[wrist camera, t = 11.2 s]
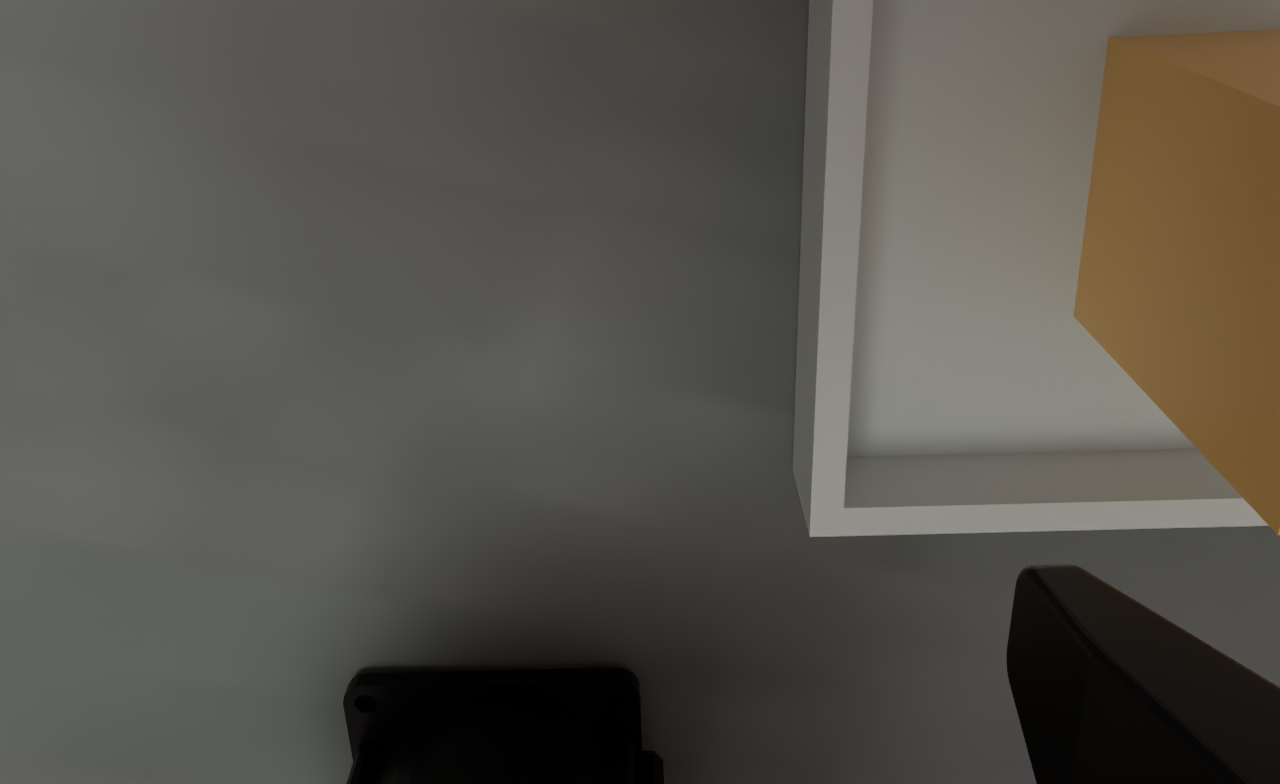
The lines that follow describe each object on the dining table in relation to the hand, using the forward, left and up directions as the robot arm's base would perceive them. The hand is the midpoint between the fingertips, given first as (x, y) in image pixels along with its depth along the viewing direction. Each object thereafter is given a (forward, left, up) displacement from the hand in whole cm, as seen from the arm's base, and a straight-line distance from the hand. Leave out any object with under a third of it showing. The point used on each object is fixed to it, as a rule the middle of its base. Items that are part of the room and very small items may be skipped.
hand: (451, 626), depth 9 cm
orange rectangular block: (+11, 0, -12) cm, 17 cm away
